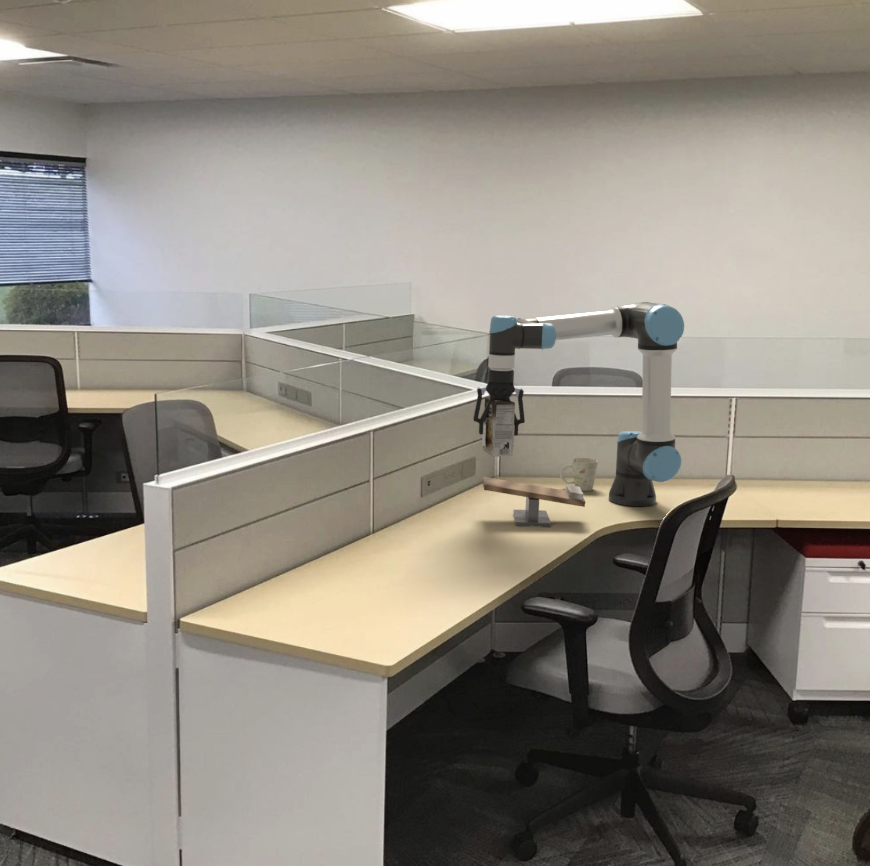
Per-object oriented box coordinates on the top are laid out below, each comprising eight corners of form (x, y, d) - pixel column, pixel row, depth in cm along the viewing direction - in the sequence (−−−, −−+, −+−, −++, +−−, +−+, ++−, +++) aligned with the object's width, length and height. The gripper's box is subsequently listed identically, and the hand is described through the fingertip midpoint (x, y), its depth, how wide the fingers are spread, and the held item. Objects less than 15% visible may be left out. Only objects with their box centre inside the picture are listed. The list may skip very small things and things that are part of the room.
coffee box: (481, 450, 300) (484, 397, 297) (501, 449, 302) (504, 397, 299) (492, 457, 292) (494, 402, 289) (513, 456, 294) (515, 401, 291)
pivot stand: (545, 514, 307) (547, 490, 306) (550, 527, 294) (551, 502, 292) (513, 513, 307) (514, 489, 306) (516, 526, 294) (517, 500, 292)
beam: (580, 498, 304) (582, 486, 304) (584, 506, 294) (586, 495, 294) (482, 481, 304) (484, 470, 303) (483, 489, 294) (486, 478, 293)
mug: (597, 492, 337) (599, 463, 335) (560, 491, 337) (561, 462, 335) (594, 486, 345) (596, 458, 343) (557, 485, 345) (559, 456, 343)
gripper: (535, 368, 296) (531, 444, 300) (465, 366, 296) (462, 442, 300) (537, 371, 288) (533, 449, 293) (466, 369, 288) (463, 447, 293)
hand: (497, 445), depth 296 cm, fingers closed on coffee box, 8 cm apart
